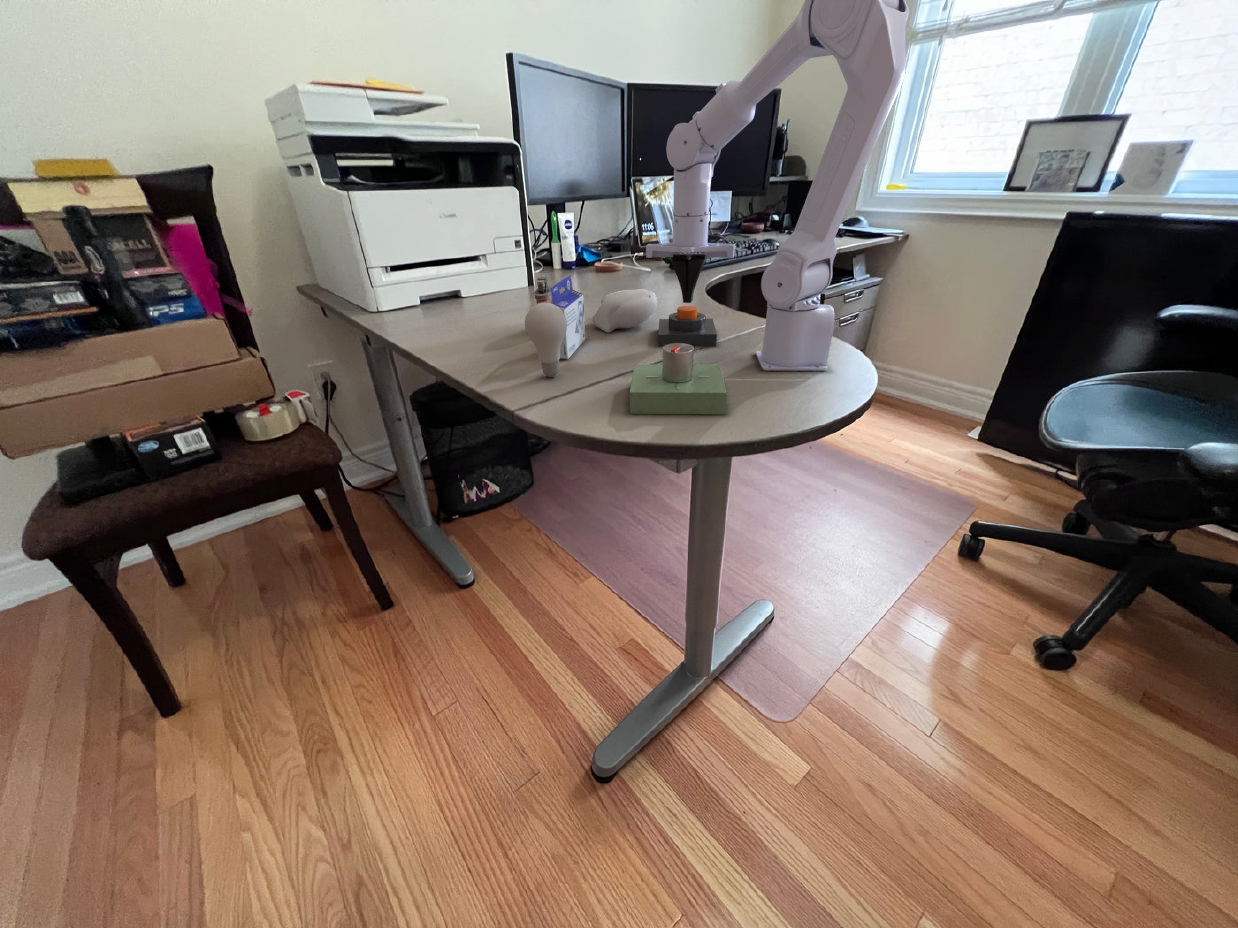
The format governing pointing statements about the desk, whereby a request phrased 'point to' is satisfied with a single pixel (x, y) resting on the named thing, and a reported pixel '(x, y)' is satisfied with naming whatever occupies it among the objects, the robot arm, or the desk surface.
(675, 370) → the lock knob
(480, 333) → the desk surface
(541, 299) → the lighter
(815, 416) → the desk surface
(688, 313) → the button
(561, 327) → the lightbulb
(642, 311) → the shell shaped sculpture
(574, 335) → the ink box
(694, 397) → the panel
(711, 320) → the button base
